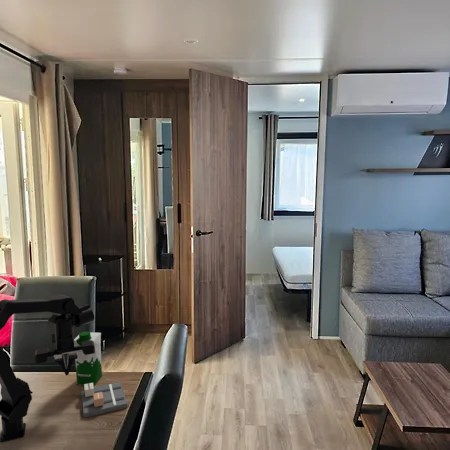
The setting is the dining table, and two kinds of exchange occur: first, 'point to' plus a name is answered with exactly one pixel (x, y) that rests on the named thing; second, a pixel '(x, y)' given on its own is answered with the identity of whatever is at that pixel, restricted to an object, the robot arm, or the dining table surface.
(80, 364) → the milk carton
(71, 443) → the dining table surface
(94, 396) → the fader terracotta
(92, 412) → the console
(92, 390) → the fader ivory
